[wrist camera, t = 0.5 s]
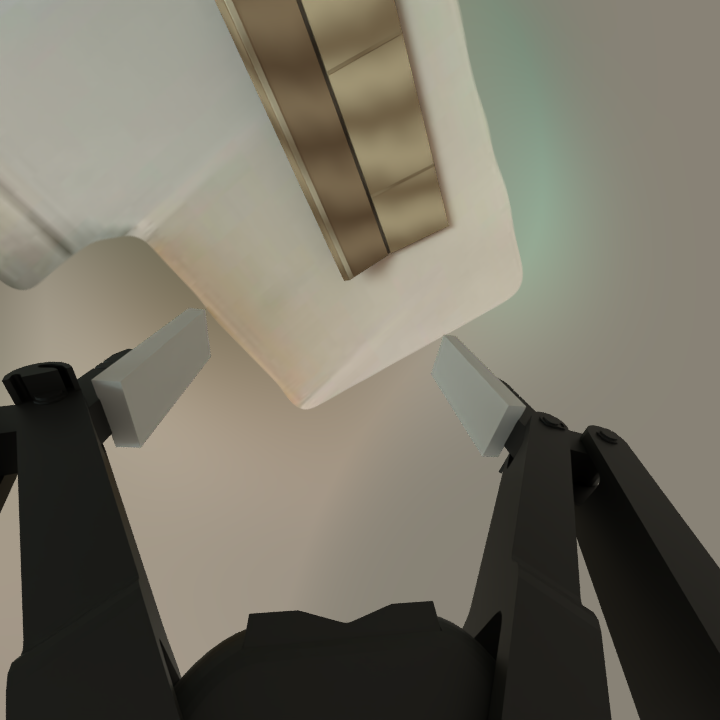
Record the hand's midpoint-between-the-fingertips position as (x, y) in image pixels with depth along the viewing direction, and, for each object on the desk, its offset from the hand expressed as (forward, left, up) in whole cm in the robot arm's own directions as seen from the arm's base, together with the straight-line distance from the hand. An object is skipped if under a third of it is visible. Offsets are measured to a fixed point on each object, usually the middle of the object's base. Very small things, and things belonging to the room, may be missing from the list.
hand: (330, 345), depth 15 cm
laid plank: (-13, +12, -25) cm, 30 cm away
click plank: (-12, +4, -23) cm, 26 cm away
